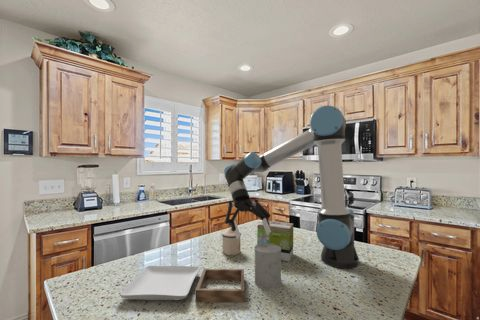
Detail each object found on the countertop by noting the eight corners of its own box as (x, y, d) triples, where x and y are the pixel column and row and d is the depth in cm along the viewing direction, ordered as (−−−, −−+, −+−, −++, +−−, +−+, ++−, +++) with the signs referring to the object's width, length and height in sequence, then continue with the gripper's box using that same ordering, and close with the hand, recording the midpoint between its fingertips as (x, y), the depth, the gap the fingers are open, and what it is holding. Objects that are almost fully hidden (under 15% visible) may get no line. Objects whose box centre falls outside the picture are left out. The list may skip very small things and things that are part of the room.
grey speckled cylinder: (283, 278, 89) (283, 245, 89) (278, 291, 80) (278, 254, 80) (258, 274, 92) (258, 242, 92) (251, 286, 83) (251, 250, 83)
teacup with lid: (243, 254, 111) (243, 229, 112) (223, 256, 109) (223, 231, 109) (237, 246, 123) (237, 223, 123) (219, 247, 121) (219, 224, 121)
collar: (244, 278, 88) (244, 269, 89) (244, 302, 73) (244, 290, 74) (203, 278, 89) (203, 268, 89) (195, 301, 74) (195, 290, 74)
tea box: (256, 257, 109) (256, 224, 109) (263, 249, 118) (263, 219, 118) (289, 262, 103) (289, 227, 103) (293, 254, 113) (293, 222, 113)
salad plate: (146, 273, 93) (146, 264, 93) (201, 274, 93) (201, 265, 93) (117, 305, 72) (117, 294, 72) (187, 307, 72) (187, 295, 72)
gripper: (260, 196, 116) (277, 236, 102) (211, 199, 106) (222, 244, 92) (266, 186, 112) (284, 227, 98) (214, 189, 102) (227, 234, 88)
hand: (254, 235), depth 95 cm, fingers open, 13 cm apart
